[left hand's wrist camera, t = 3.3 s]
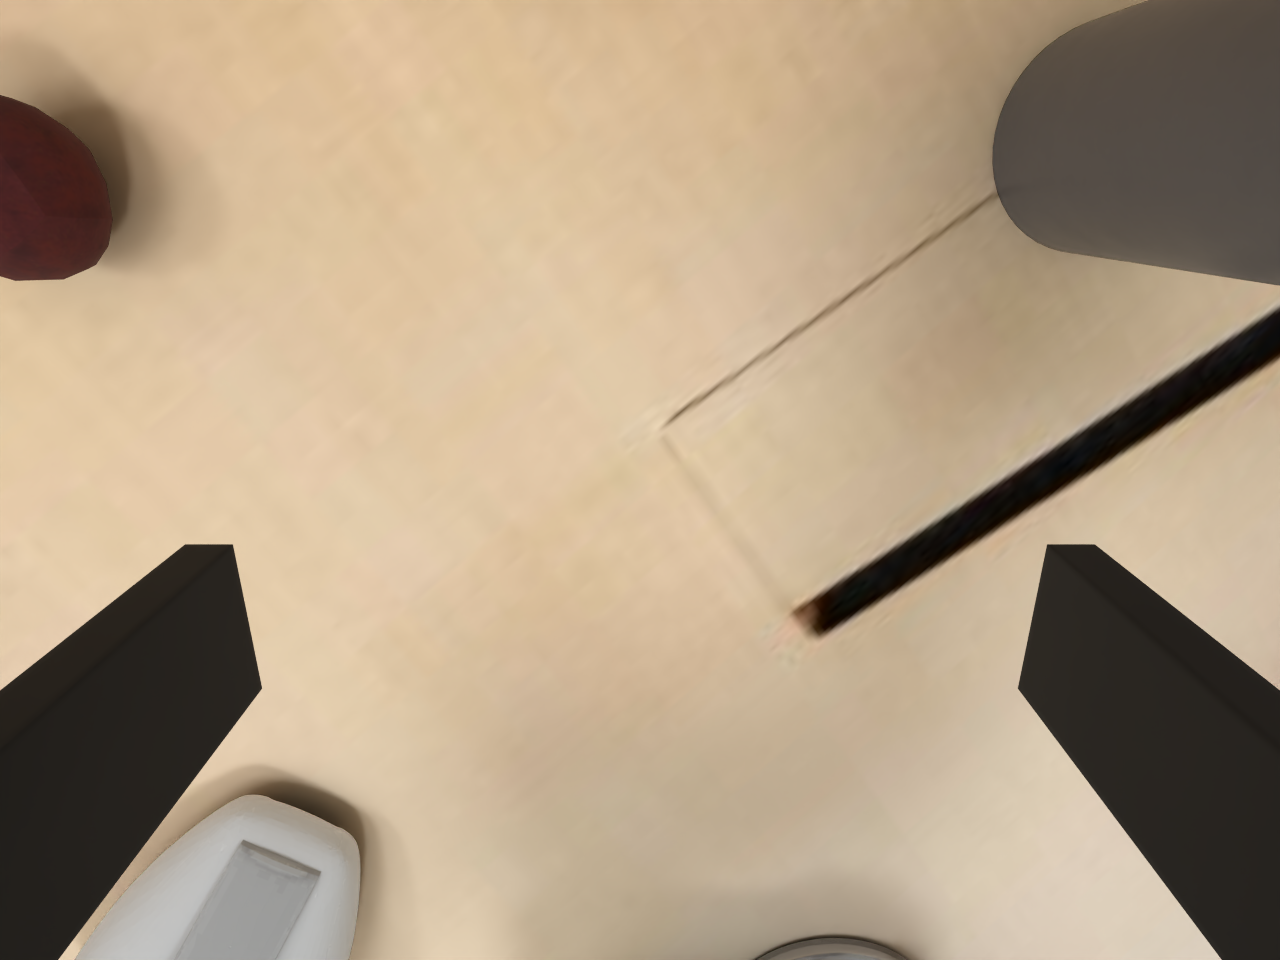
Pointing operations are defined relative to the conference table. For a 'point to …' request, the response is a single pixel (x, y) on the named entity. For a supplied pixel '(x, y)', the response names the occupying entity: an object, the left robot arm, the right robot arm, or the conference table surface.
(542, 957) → the conference table surface
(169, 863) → the projector
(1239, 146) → the jar
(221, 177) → the conference table surface
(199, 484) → the conference table surface
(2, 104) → the dark red ball
